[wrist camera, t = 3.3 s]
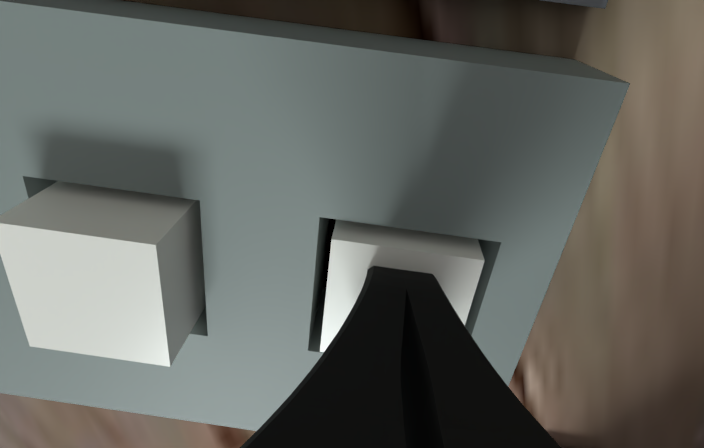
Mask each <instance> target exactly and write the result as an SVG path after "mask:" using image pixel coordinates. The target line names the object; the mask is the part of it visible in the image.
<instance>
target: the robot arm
mask: <svg viewBox="0 0 704 448" xmlns="http://www.w3.org/2000/svg"><path fill="white" fill-rule="evenodd" d="M240 448H561V447H560V446H559V445H558V444H557V443H556V441H555V440H554V439H553V438H552V437H551V436H550V435H549V434H548V433H547V432H546V430H545V429H544V428H543V427H542V426H541V425H540V424H539V423H538V421H537V420H536V419H535V418H534V417H533V416H532V415H531V414H530V412H529V411H528V410H527V409H526V408H525V407H524V406H523V405H522V403H521V402H520V401H519V400H518V398H517V397H516V396H515V395H514V393H513V392H512V391H511V390H510V388H509V387H508V386H507V385H506V383H505V382H504V381H503V379H502V378H501V377H500V375H499V374H498V373H497V371H496V370H495V369H494V368H493V366H492V365H491V363H490V362H489V361H488V359H487V358H486V356H485V355H484V354H483V352H482V351H481V349H480V348H479V346H478V345H477V343H476V342H475V340H474V339H473V337H472V336H471V335H470V333H469V332H468V330H467V329H466V327H465V326H464V324H463V322H462V321H461V319H460V318H459V316H458V314H457V313H456V311H455V310H454V308H453V306H452V305H451V303H450V301H449V300H448V298H447V296H446V295H445V293H444V291H443V289H442V288H441V286H440V284H439V282H438V281H437V279H436V278H435V276H434V275H433V274H430V273H423V272H416V271H409V270H401V269H394V268H387V267H380V266H372V267H371V268H369V269H367V276H366V279H365V282H364V285H363V287H362V290H361V292H360V294H359V296H358V298H357V300H356V302H355V304H354V306H353V308H352V309H351V311H350V313H349V315H348V316H347V318H346V320H345V322H344V323H343V325H342V327H341V328H340V330H339V331H338V333H337V334H336V336H335V337H334V339H333V340H332V342H331V343H330V344H329V346H328V347H327V349H326V350H325V352H324V353H323V355H322V356H321V357H320V359H319V360H318V361H317V363H316V364H315V365H314V367H313V368H312V369H311V371H310V372H309V373H308V374H307V376H306V377H305V378H304V379H303V380H302V382H301V383H300V384H299V385H298V386H297V388H296V389H295V390H294V391H293V392H292V394H291V395H290V396H289V397H288V398H287V399H286V400H285V401H284V403H283V404H282V405H281V406H280V407H279V408H278V409H277V410H276V411H275V412H274V413H273V414H272V415H271V417H270V418H269V419H268V420H267V421H266V422H265V423H264V424H263V425H262V426H261V427H260V428H259V429H258V430H257V431H256V432H255V433H254V434H253V435H252V436H251V437H250V438H249V439H248V440H247V441H246V442H245V443H244V444H243V445H242V446H241V447H240Z"/></svg>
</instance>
